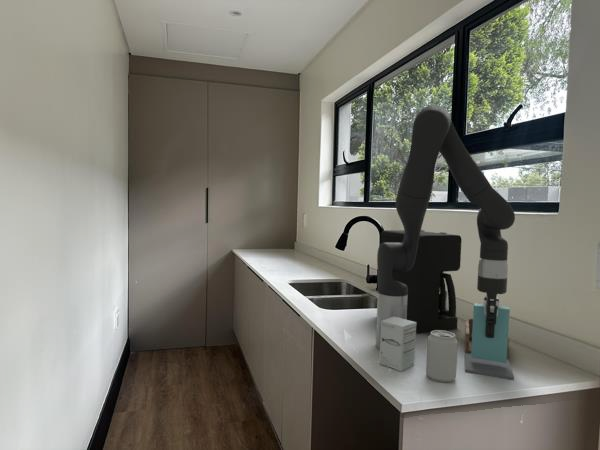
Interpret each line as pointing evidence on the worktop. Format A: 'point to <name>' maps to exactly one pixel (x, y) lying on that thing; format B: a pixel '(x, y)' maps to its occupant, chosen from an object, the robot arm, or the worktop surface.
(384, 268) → the robot arm
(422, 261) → the coffee maker
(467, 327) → the walnut rack
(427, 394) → the worktop surface
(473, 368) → the charcoal mat
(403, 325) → the supplement box
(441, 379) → the can
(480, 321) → the teal board
